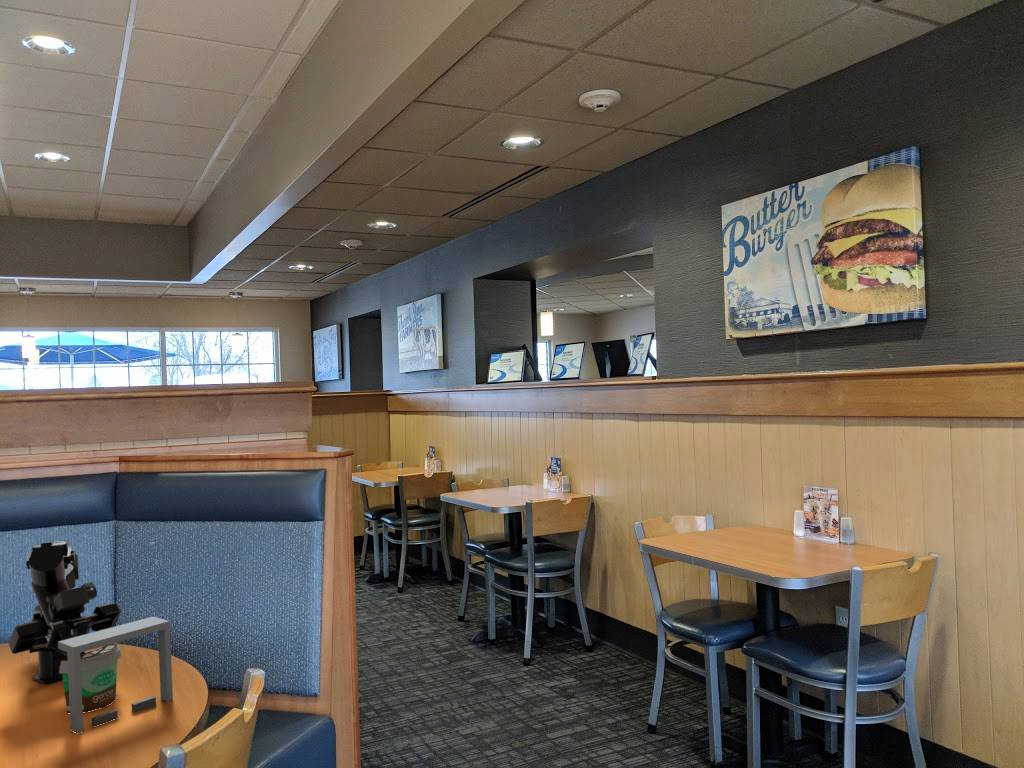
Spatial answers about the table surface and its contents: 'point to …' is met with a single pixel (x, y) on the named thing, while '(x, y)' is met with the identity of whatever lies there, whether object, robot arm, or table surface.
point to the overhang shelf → (109, 637)
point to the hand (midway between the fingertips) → (82, 662)
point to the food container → (95, 677)
